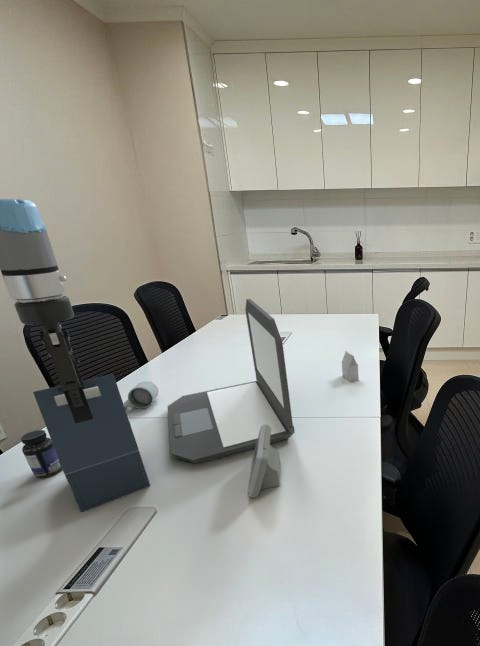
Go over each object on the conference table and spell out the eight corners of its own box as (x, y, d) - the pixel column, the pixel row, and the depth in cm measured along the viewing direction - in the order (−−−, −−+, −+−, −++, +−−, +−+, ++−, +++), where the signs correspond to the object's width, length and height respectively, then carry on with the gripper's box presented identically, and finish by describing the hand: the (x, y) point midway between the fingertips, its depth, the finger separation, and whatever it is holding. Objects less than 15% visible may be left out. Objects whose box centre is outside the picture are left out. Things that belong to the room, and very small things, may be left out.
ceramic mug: (162, 397, 137) (156, 377, 134) (155, 407, 130) (149, 386, 127) (129, 401, 135) (122, 381, 132) (121, 411, 128) (114, 390, 125)
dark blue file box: (75, 475, 97) (61, 442, 93) (137, 455, 104) (127, 423, 100) (80, 512, 85) (65, 475, 80) (150, 485, 92) (139, 451, 88)
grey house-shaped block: (349, 381, 146) (348, 356, 142) (342, 375, 151) (341, 351, 147) (358, 379, 147) (357, 355, 143) (351, 373, 153) (349, 349, 149)
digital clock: (255, 458, 101) (249, 423, 97) (289, 457, 101) (284, 422, 97) (235, 500, 87) (226, 461, 82) (275, 499, 87) (268, 460, 82)
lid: (33, 391, 77) (27, 394, 70) (113, 373, 85) (115, 374, 78) (64, 473, 81) (62, 483, 74) (138, 449, 88) (142, 456, 81)
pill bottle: (63, 461, 102) (48, 425, 98) (65, 472, 98) (49, 434, 94) (34, 471, 99) (16, 434, 94) (34, 482, 95) (16, 444, 90)
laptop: (168, 405, 131) (142, 307, 118) (261, 385, 144) (247, 295, 131) (174, 473, 96) (137, 345, 83) (295, 439, 109) (281, 324, 96)
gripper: (72, 306, 60) (112, 425, 68) (64, 286, 78) (97, 382, 86) (8, 314, 56) (60, 440, 64) (15, 291, 73) (55, 391, 82)
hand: (81, 407), depth 75 cm, fingers open, 13 cm apart
